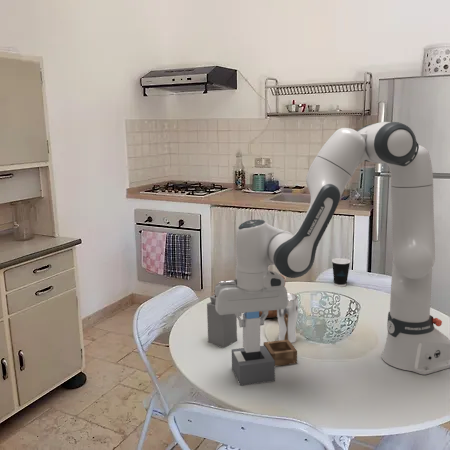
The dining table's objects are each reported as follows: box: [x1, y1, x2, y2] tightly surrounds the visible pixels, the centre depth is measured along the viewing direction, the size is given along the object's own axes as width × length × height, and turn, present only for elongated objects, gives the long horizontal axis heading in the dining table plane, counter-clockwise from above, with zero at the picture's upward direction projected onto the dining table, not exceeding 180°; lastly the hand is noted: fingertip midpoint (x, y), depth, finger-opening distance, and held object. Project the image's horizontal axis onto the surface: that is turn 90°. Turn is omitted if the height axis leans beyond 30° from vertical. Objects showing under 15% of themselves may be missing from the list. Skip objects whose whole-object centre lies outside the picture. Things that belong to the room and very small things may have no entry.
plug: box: [242, 311, 261, 353], centre depth 139 cm, size 4×4×12 cm
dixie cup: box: [331, 257, 352, 288], centre depth 213 cm, size 8×8×11 cm
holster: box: [263, 340, 298, 367], centre depth 150 cm, size 8×8×4 cm
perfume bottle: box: [206, 289, 238, 349], centre depth 161 cm, size 7×7×18 cm
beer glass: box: [276, 292, 299, 344], centre depth 162 cm, size 7×7×15 cm
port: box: [231, 344, 276, 386], centre depth 141 cm, size 10×10×6 cm
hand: (251, 325), depth 139 cm, fingers closed on plug, 4 cm apart
